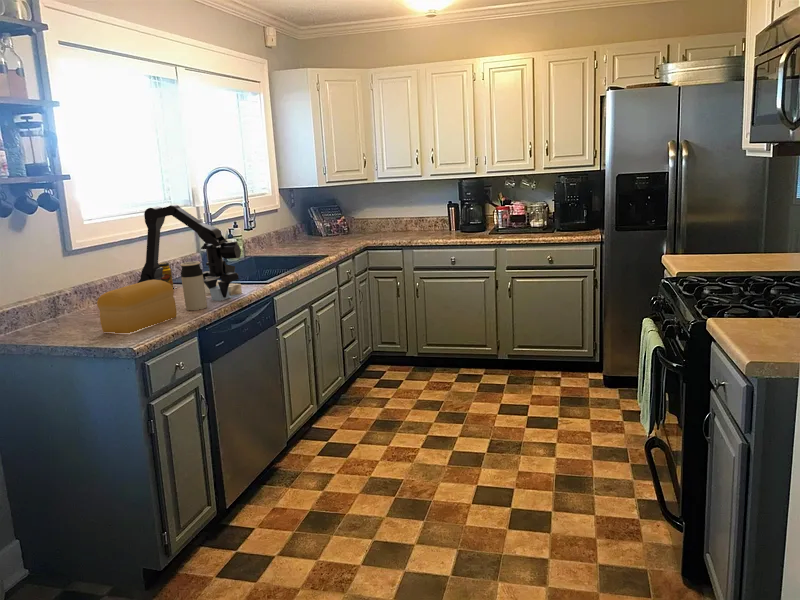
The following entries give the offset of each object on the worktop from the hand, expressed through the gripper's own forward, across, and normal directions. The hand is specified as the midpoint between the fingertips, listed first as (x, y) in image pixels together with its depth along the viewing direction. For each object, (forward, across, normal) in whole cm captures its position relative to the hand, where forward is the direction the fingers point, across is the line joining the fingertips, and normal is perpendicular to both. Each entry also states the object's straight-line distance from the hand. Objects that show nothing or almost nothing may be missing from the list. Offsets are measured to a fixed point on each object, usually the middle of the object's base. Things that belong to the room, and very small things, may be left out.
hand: (220, 297), depth 273 cm
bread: (+1, -3, +40) cm, 40 cm away
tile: (+1, -1, -5) cm, 5 cm away
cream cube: (+1, +15, -10) cm, 18 cm away
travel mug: (+1, -3, +15) cm, 15 cm away
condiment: (+1, +47, -10) cm, 48 cm away
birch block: (+1, +3, -9) cm, 10 cm away
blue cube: (+1, 0, 0) cm, 1 cm away
